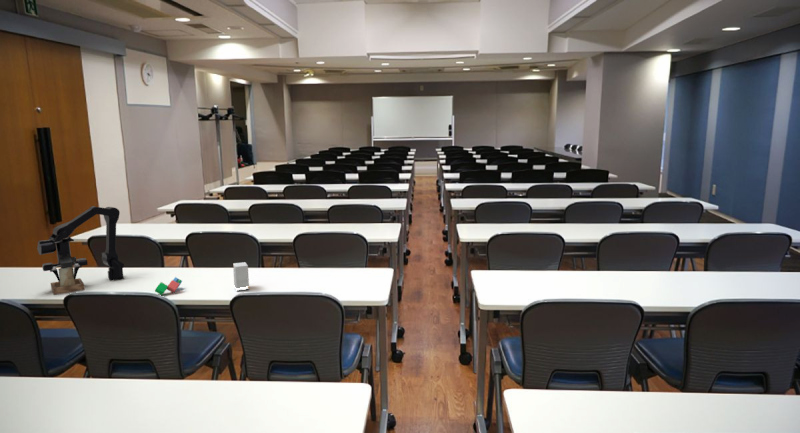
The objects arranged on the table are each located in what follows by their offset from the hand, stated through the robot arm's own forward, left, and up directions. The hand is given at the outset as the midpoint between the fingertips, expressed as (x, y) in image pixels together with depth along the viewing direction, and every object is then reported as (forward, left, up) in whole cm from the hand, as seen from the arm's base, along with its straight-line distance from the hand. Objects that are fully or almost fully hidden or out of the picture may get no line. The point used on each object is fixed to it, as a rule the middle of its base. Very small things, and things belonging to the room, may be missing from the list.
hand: (67, 280), depth 253 cm
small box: (-69, +56, -5) cm, 89 cm away
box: (0, 0, -4) cm, 4 cm away
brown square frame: (0, 0, -4) cm, 4 cm away
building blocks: (-39, +38, -5) cm, 55 cm away
